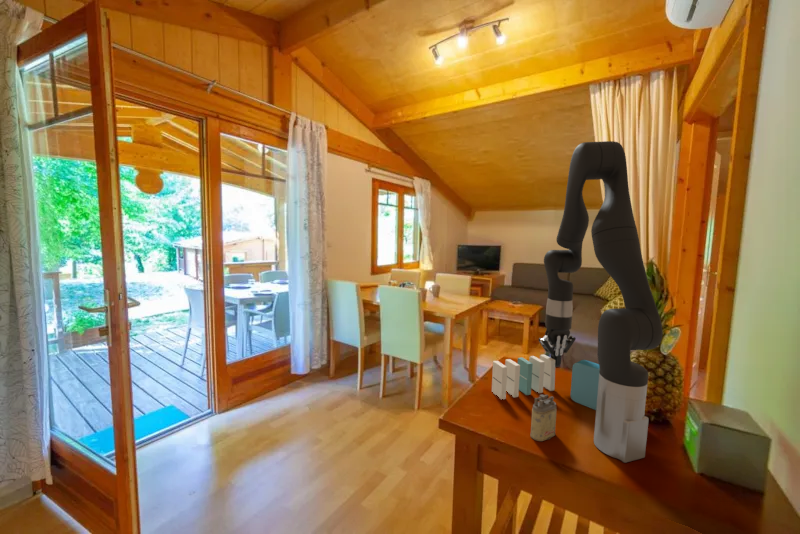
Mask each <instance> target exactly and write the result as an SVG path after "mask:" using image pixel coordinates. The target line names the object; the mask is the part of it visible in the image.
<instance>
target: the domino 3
mask: <svg viewBox="0 0 800 534" xmlns="http://www.w3.org/2000/svg"><path fill="white" fill-rule="evenodd" d="M516 363H517V364H519V365H520V377H519V392H520V393H521V392H522V393H523V394H524V395H525V396H529V395H530V396H531V394H532V388H531V383H532V366H533V363H531V362H529V360H527V359H526V358H525V357H522V356H521V357H517V362H516Z"/></svg>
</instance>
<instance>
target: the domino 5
mask: <svg viewBox="0 0 800 534" xmlns="http://www.w3.org/2000/svg"><path fill="white" fill-rule="evenodd" d="M539 359H541V360H542V361H544V362H545V365H544V381H543V388H544V389H546V390H548V391H549V392H553V391H555V389H556V387H555V386H556V385H555V383H556V367H555V360H554V359H552V358H551V356H548V355H546V354H540V355H539Z"/></svg>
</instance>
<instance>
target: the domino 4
mask: <svg viewBox="0 0 800 534" xmlns="http://www.w3.org/2000/svg"><path fill="white" fill-rule="evenodd" d="M528 361H529V362H531V363H533V366H532V383H531V390H534V392H536V393H537V392H538V393H537V394H542V393H544V387H543V381H544V365H545V362H544V361H542V360H541V359H540V357H537V356H534V355H530V356H529V360H528Z"/></svg>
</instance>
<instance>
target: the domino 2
mask: <svg viewBox="0 0 800 534" xmlns="http://www.w3.org/2000/svg"><path fill="white" fill-rule="evenodd" d="M517 363H518V362H516V361H514V360H512V359H511V358H507V359H505V362H504V365H505V366H507V383H506V391H507V392H508V395H510V396H511V395H512V396H511V397H512V398H518V397H519V392H520V390H519V377H520V365H519V364H517ZM507 392H506V393H507Z"/></svg>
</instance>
